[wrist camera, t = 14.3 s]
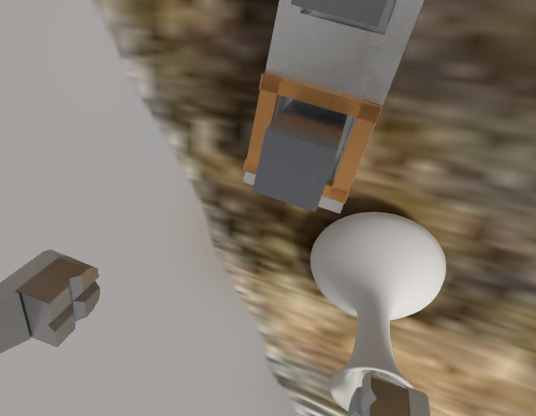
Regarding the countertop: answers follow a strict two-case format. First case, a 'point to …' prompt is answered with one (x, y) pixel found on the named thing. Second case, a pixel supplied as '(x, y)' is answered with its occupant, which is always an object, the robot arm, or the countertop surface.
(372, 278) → the flower in vase
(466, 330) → the countertop surface
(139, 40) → the countertop surface
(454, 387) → the countertop surface
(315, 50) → the rail
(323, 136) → the gray rectangular block
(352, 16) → the switch
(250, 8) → the countertop surface
